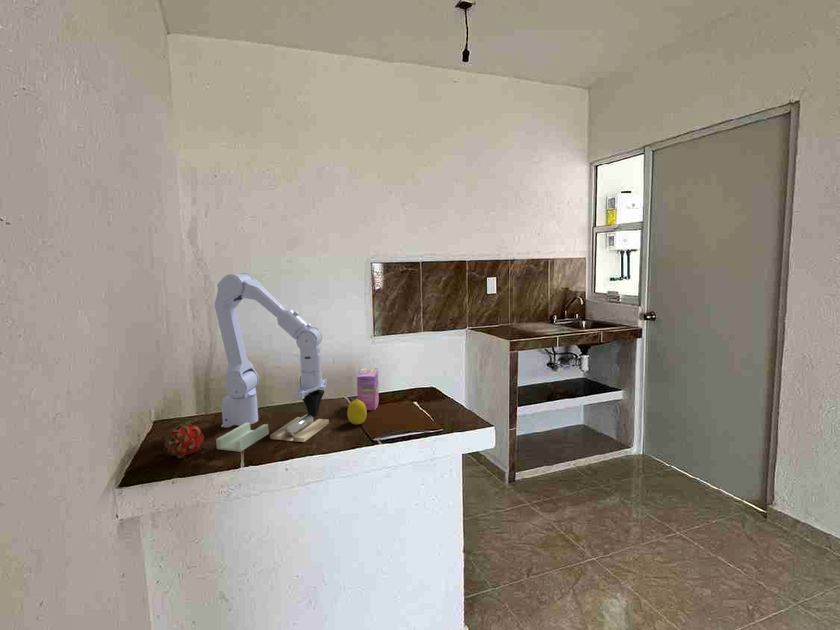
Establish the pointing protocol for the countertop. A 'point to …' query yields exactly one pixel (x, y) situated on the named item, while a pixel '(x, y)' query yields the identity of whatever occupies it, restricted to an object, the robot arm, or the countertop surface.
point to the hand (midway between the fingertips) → (313, 415)
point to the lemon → (356, 412)
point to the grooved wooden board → (303, 434)
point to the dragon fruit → (183, 440)
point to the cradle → (241, 437)
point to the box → (368, 387)
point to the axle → (299, 425)
